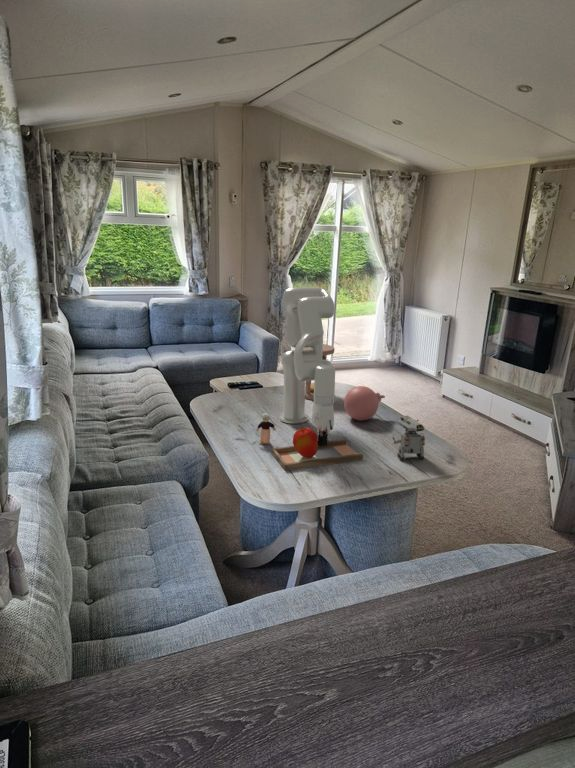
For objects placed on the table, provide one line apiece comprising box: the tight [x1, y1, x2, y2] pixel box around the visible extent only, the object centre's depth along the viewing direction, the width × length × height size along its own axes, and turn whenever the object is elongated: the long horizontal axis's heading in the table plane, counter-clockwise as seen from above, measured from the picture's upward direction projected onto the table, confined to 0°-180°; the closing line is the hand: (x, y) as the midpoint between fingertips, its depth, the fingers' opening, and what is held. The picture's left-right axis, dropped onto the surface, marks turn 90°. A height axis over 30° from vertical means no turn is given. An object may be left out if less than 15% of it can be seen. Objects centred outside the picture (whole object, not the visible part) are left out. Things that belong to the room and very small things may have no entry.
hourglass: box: [303, 343, 335, 401], centre depth 269 cm, size 18×18×25 cm
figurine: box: [392, 415, 426, 461], centre depth 200 cm, size 9×12×15 cm
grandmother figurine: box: [255, 412, 276, 445], centre depth 210 cm, size 8×4×13 cm, turn 105°
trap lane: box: [271, 438, 364, 472], centre depth 200 cm, size 15×31×2 cm, turn 110°
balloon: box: [343, 385, 386, 421], centre depth 238 cm, size 15×20×15 cm
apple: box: [292, 427, 318, 458], centre depth 197 cm, size 9×9×12 cm
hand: (322, 445), depth 199 cm, fingers closed
